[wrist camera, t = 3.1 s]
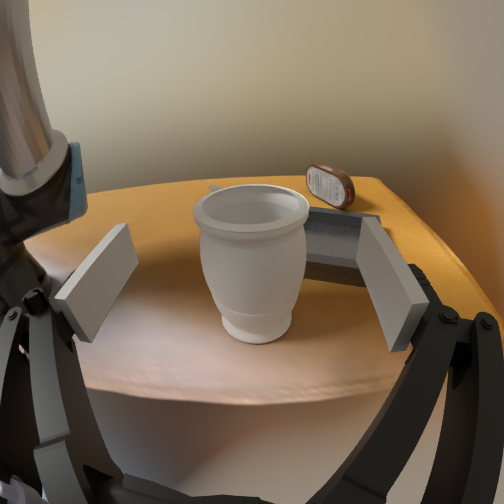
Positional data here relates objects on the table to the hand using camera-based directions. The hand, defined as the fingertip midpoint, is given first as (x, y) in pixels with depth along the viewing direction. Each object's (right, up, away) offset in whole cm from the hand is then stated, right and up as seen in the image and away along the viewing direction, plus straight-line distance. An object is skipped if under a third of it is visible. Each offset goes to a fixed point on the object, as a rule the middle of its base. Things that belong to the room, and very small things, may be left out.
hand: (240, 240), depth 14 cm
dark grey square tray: (+13, 0, +30) cm, 33 cm away
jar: (+1, -9, +18) cm, 20 cm away
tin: (+18, +11, +46) cm, 51 cm away
